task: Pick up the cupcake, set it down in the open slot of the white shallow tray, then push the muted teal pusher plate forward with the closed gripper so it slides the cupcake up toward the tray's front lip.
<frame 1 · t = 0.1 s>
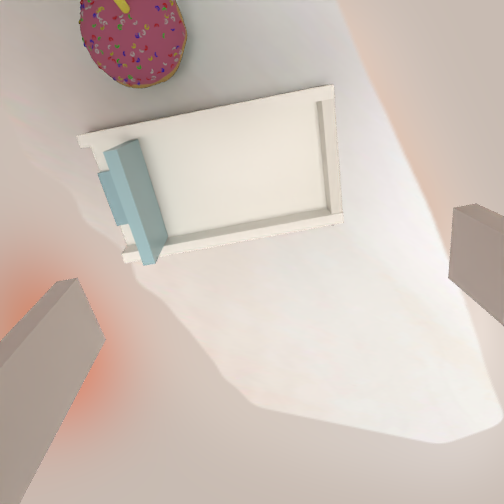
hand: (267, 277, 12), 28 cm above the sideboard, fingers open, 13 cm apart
white shallow tray: (220, 175, 38), on the sideboard
cupcake: (147, 39, 33), on the sideboard
pusher: (122, 204, 35), point 5 cm above the sideboard, slide at 0.0 cm
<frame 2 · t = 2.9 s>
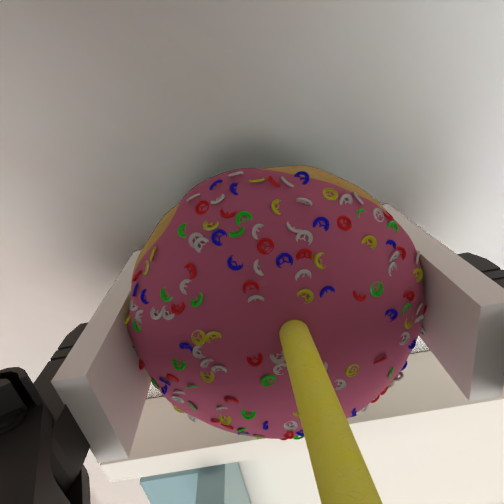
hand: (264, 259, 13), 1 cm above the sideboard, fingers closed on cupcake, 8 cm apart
white shallow tray: (371, 452, 20), on the sideboard
cupcake: (264, 248, 14), on the sideboard, touching gripper
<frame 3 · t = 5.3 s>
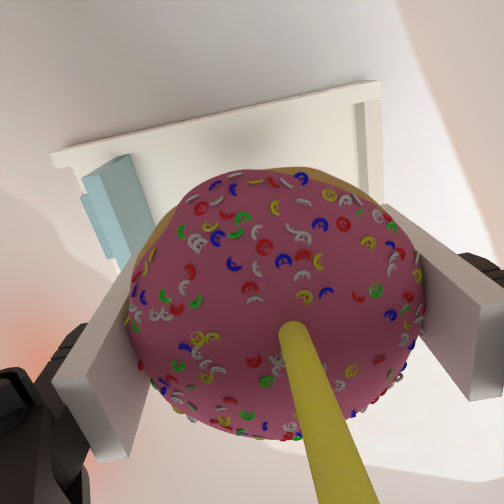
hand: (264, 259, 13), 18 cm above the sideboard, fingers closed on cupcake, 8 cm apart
white shallow tray: (232, 195, 31), on the sideboard
cupcake: (264, 248, 14), point 17 cm above the sideboard, touching gripper
pusher: (111, 237, 27), point 5 cm above the sideboard, slide at 0.0 cm
when the fingers open (4 cm above the sideboard, at t = 7.5 s): cupcake drops 2 cm, resting on white shallow tray.
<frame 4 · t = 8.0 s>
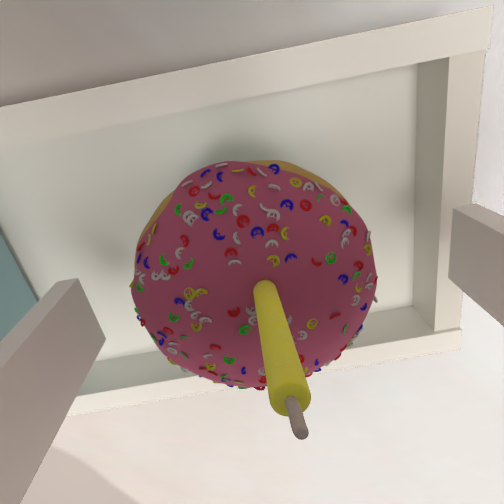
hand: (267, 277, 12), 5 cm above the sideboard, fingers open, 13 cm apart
white shallow tray: (179, 240, 17), on the sideboard
cupcake: (250, 233, 16), point 1 cm above the sideboard, touching white shallow tray
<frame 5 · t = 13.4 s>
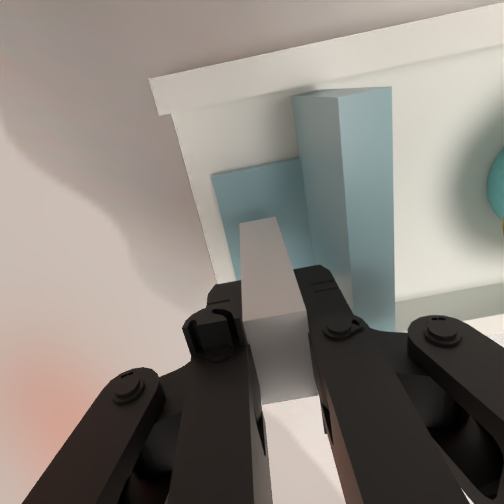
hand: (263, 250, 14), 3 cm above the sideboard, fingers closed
white shallow tray: (453, 184, 17), on the sideboard
pusher: (289, 257, 13), point 5 cm above the sideboard, slide at 1.1 cm, touching gripper
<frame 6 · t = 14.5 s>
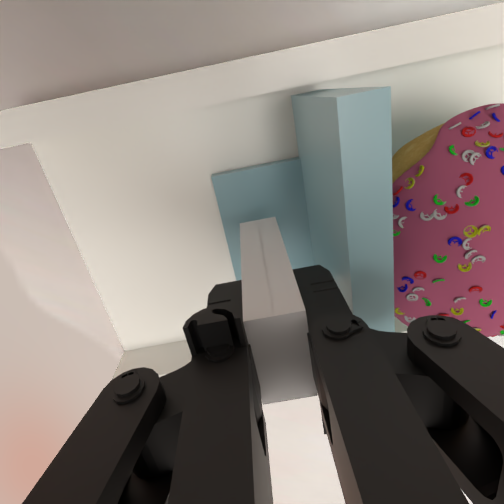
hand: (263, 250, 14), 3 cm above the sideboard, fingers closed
white shallow tray: (329, 208, 17), on the sideboard
cupcake: (416, 198, 16), point 1 cm above the sideboard, touching pusher
pusher: (289, 257, 13), point 5 cm above the sideboard, slide at 7.2 cm, touching cupcake, gripper
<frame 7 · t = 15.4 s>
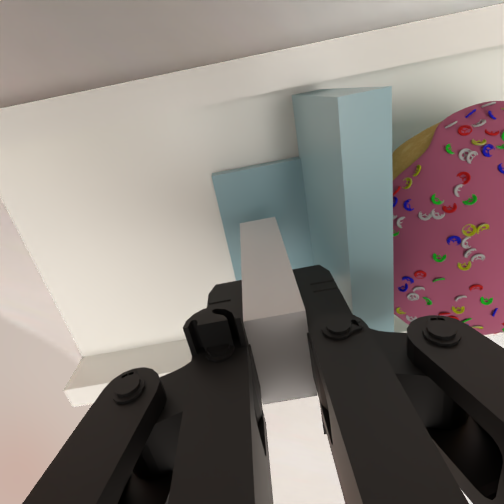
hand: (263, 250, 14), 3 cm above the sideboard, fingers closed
white shallow tray: (282, 217, 17), on the sideboard
cupcake: (415, 196, 16), point 1 cm above the sideboard, touching white shallow tray, pusher
pusher: (288, 257, 13), point 5 cm above the sideboard, slide at 9.6 cm, touching cupcake, gripper
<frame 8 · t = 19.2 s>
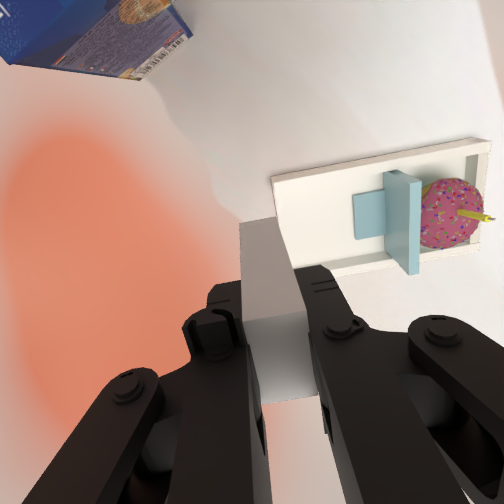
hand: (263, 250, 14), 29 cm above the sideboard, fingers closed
white shallow tray: (372, 210, 45), on the sideboard
juice carton: (127, 3, 35), on the sideboard
cupcake: (424, 203, 44), point 1 cm above the sideboard, touching white shallow tray, pusher
pusher: (384, 223, 41), point 5 cm above the sideboard, slide at 9.6 cm, touching cupcake
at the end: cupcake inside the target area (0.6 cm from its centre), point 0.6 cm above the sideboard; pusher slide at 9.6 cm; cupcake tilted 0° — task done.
